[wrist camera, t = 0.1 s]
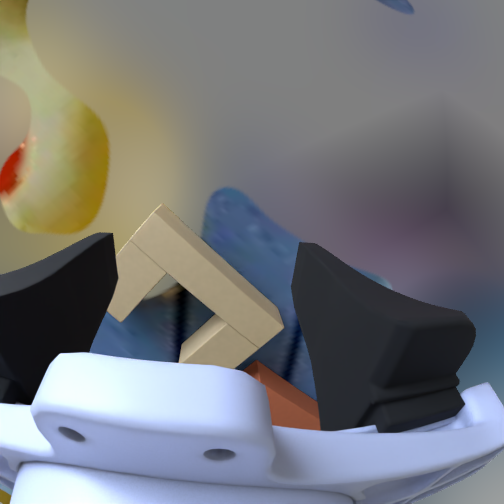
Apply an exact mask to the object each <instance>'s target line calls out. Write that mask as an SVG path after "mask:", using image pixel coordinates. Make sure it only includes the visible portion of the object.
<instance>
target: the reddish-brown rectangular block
mask: <svg viewBox="0 0 504 504" xmlns="http://www.w3.org/2000/svg"><path fill="white" fill-rule="evenodd" d="M243 371H244V372H246V373H247V374H249V375H250V376H252V377H253V378H255V379H256V380H257V381H259V382H260V383H262V384H263V385H265V388H266V392H267V396H268V400H269V406H270V413H271V421H272V425H273V426H281V427H289V428H297V429H307V430H318V431H321V430H320V420H319V410H318V402H317V401H315V400H314V399H312V398H310V397H309V396H308V395H306V394H305V393H303V392H302V391H300V390H299V389H297V388H296V387H294V386H293V385H291V384H290V383H288V382H287V381H286V380H284V379H283V378H281V377H280V376H278V375H277V374H276V373H274V372H273V371H271V370H270V369H269V368H267V367H266V366H264V365H263V364H262V363H260V362H259V361H258V360H256V361H254V362H253V363H252V364H251V365H249V366H248V367H247V368H245V369H244V370H243Z"/></svg>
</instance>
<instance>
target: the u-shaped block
mask: <svg viewBox="0 0 504 504" xmlns="http://www.w3.org/2000/svg"><path fill="white" fill-rule="evenodd" d="M116 263H117V270H118V277H119V279H118V282H117V285H116V289H115V292H114V295H113V298H112V300H111V303H110V305H109V307H108V309H107V312H109V313H110V314H111V315H112V316H113V317H115V318H116V319H117V320H118V321H119V322H122V321H123V320H124V319H125V318H126V317H127V316H128V315H129V314H130V312H131V311H132V310H133V309H134V308H135V307H136V306H137V305H138V304H139V303H140V302H141V300H142V299H143V298H144V297H145V296H146V295H147V294H148V293H149V292H150V290H152V289H153V287H154V286H155V285H156V284H157V283H158V282H159V281H160V280H161V279H162V278H163V277H164V276H165V274H166V273H168V274H169V275H171V276H172V277H173V278H174V279H175V280H176V281H177V282H179V283H180V284H181V285H182V286H183V287H184V288H186V289H187V290H188V291H189V292H190V293H191V294H193V295H194V296H195V297H196V298H197V299H199V300H200V301H201V302H202V303H203V304H205V305H206V306H207V307H208V308H209V309H211V310H212V311H213V312H214V313H216V314H215V315H213V316H212V317H211V318H210V319H209V320H208V321H207V322H206V323H205V324H204V325H202V326H201V327H200V328H199V329H198V330H197V331H196V332H195V333H194V334H193V335H191V336H190V337H189V338H188V339H187V340H186V341H185V342H184V343H183V344H182V346H181V352H180V358H179V363H184V364H201V365H215V366H220V367H225V368H230V369H234V368H236V367H237V366H238V365H240V364H241V363H242V362H243V361H245V360H246V359H247V358H248V357H250V356H251V355H252V354H253V353H255V352H256V351H257V350H258V349H259V348H261V347H262V346H263V345H264V344H266V343H267V342H268V341H269V340H270V339H272V338H273V337H274V336H275V335H276V334H278V333H279V332H280V331H281V330H282V329H284V325H283V322H282V319H281V316H280V313H279V310H278V308H277V307H276V306H275V305H274V304H273V303H272V302H271V301H269V300H268V299H267V298H266V297H265V296H264V295H263V294H262V293H260V292H259V291H258V290H257V289H256V288H255V287H254V286H253V285H252V284H250V283H249V282H248V281H247V280H246V279H245V278H244V277H243V276H242V275H240V274H239V273H238V272H237V271H236V270H235V269H234V268H233V267H232V266H230V265H229V264H228V263H227V262H226V261H225V260H224V259H223V258H222V257H221V256H219V255H218V254H217V253H216V252H215V251H214V250H213V249H212V248H211V247H210V246H209V245H207V244H206V243H205V242H204V241H203V240H202V239H201V238H200V237H199V236H198V235H197V234H196V233H194V232H193V231H192V230H191V229H190V228H189V227H188V226H187V225H186V224H185V223H183V221H181V220H180V219H179V218H178V217H177V216H176V215H175V214H174V213H173V212H172V211H171V210H170V209H169V208H168V207H166V206H165V205H164V204H161V205H160V206H159V207H158V208H157V209H155V211H153V212H152V214H151V215H150V216H149V217H148V218H147V219H146V220H145V222H144V223H143V224H142V225H141V226H140V227H139V229H138V230H137V231H136V232H135V233H134V234H133V236H132V237H131V238H130V239H129V240H128V242H127V243H126V244H125V245H124V246H123V248H122V249H121V250H120V251H119V253H118V254H117V255H116Z"/></svg>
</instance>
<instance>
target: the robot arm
mask: <svg viewBox="0 0 504 504" xmlns="http://www.w3.org/2000/svg"><path fill="white" fill-rule="evenodd" d="M118 279H119V277H118V270H117V263H116V255H115V248H114V239H113V233H101V232H100V233H96V234H93V235H91V236H88V237H86V238H84V239H82V240H80V241H78V242H76V243H74V244H72V245H71V246H69V247H67V248H65V249H63V250H61V251H59V252H57V253H55V254H53V255H51V256H49V257H47V258H45V259H43V260H41V261H38V262H36V263H34V264H31V265H29V266H26V267H24V268H21V269H18V270H15V271H12V272H9V273H6V274H2V275H0V484H2V485H4V486H6V487H8V488H10V489H12V490H13V493H12V497H11V501H10V504H412V503H414V502H417V501H419V500H421V499H424V498H426V497H428V496H430V495H432V494H435V493H437V492H439V491H441V490H443V489H445V488H447V487H450V486H452V485H454V484H456V483H458V482H460V481H462V480H464V479H465V478H467V477H469V476H471V475H473V474H475V473H476V472H478V471H479V470H480V469H481V468H483V467H484V466H485V465H486V464H488V463H489V462H490V461H491V460H493V459H494V458H495V457H496V456H497V455H498V454H500V453H501V452H502V451H503V450H504V406H503V405H502V403H501V402H500V400H499V398H498V397H497V395H496V393H495V392H494V390H493V389H492V387H491V386H490V384H489V383H487V382H486V383H483V384H480V385H477V386H474V387H471V388H468V389H466V390H464V391H463V392H462V393H459V392H458V390H457V388H456V386H457V385H458V384H459V379H458V377H457V376H456V372H457V371H458V369H459V368H460V366H461V365H462V363H463V362H464V360H465V359H466V357H467V355H468V354H469V352H470V350H471V348H472V346H473V343H474V340H475V337H476V329H475V327H474V325H473V323H472V322H471V321H470V320H469V318H468V317H467V316H466V315H465V314H464V313H463V312H462V311H457V310H453V309H448V308H443V307H438V306H435V305H431V304H428V303H424V302H421V301H418V300H415V299H413V298H410V297H407V296H405V295H402V294H400V293H397V292H395V291H393V290H391V289H388V288H386V287H384V286H382V285H380V284H378V283H376V282H374V281H373V280H371V279H369V278H367V277H366V276H364V275H362V274H361V273H359V272H358V271H356V270H354V269H353V268H351V267H350V266H348V265H347V264H345V263H344V262H342V261H341V260H340V259H338V258H337V257H335V256H334V255H332V254H331V253H330V252H328V251H327V250H325V249H324V248H322V247H321V246H319V245H317V244H315V243H302V242H299V247H298V252H297V258H296V263H295V269H294V274H293V279H292V285H291V290H292V296H293V302H294V308H295V311H296V314H297V317H298V321H299V324H300V327H301V330H302V333H303V336H304V339H305V342H306V345H307V348H308V352H309V356H310V359H311V364H312V370H313V375H314V381H315V388H316V395H317V402H318V410H319V420H320V430H321V431H318V430H307V429H297V428H289V427H281V426H273V425H272V421H271V413H270V406H269V400H268V396H267V392H266V388H265V385H263V384H262V383H260V382H259V381H257V380H256V379H255V378H253V377H252V376H250V375H249V374H247V373H246V372H244V371H240V370H235V369H230V368H225V367H220V366H215V365H201V364H184V363H171V362H159V361H148V360H139V359H130V358H121V357H114V356H106V355H99V354H93V353H89V351H90V348H91V345H92V343H93V340H94V338H95V335H96V333H97V331H98V329H99V326H100V324H101V322H102V320H103V318H104V316H105V313H106V311H107V309H108V307H109V305H110V303H111V300H112V298H113V295H114V292H115V289H116V285H117V282H118Z"/></svg>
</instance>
